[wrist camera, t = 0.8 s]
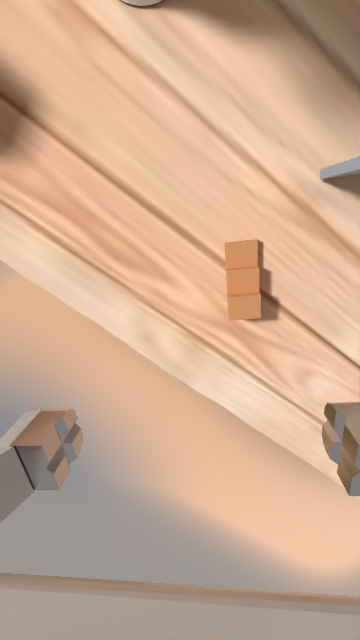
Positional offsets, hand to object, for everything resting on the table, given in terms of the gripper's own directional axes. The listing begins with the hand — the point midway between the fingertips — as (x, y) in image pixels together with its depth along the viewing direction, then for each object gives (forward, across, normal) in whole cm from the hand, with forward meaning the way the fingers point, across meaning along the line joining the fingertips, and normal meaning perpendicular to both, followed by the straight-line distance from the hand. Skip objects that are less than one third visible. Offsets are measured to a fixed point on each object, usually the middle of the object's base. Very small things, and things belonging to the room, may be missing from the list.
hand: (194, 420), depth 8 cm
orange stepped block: (+37, -6, +4) cm, 38 cm away
